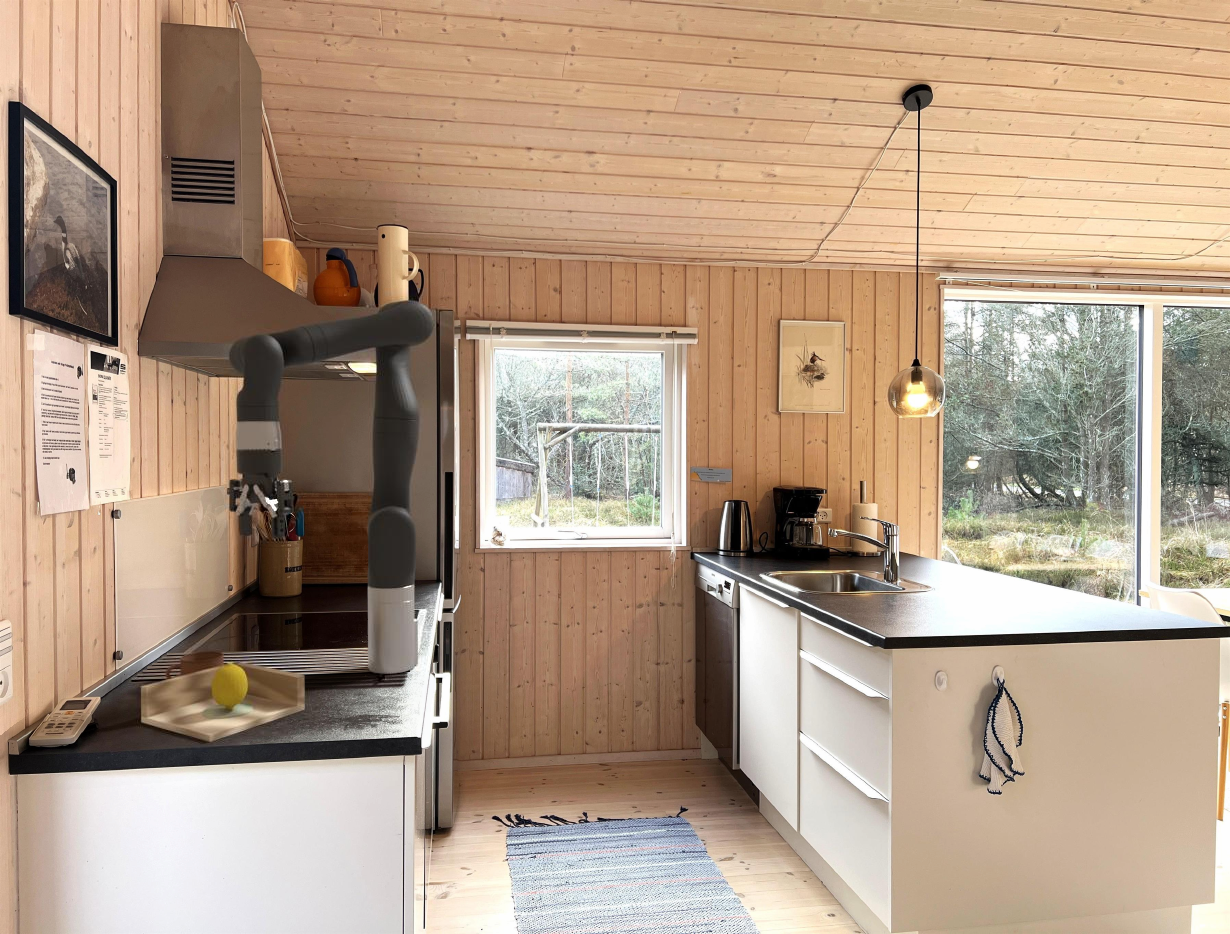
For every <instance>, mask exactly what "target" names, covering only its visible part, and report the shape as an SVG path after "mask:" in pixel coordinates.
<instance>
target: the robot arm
mask: <svg viewBox="0 0 1230 934" xmlns="http://www.w3.org/2000/svg"><path fill="white" fill-rule="evenodd" d="M434 327H435V320H434V316H433V314H432V312H431V309H429V308H428V307H427V306H426V304H424V303H421V302H420V301H417V300H411V299H410V300H409V299H408V300H401V301H394V302H389V303H386V304H384V305H383V306H382V307H381V308H380V309H379V310H378V311H377V313H374V314H369V315H366V316H359V317H352V318H347V319H346V318H344V319H336V320H329V321H322V322H321V321H320V322H317V323H310V324H305V325H300V326H295V327H292V328H289V329H286V330H283V331H279V332H272V333H266V334H265V333H264V334H263V333H257V334H252V335H248V336H245V337H242V338H241V337H240V339H238V340H236V341H235V342H234V343H233V344H232V345H231V347H230V349H229V351H228V361H229V363H230V365H231V366H232V368H233V369H234V370H235V371H236V372H238V373H240V374H242V375H243V378H242V379H243V380H242V381H243V383H242V388H241V389H240V390H239V391H238V393H237V395H236V400H235V401H236V402H235V403H236V431H235V448H236V449H235V450H236V451H235V452H236V453H235V454H236V472H237V474H238V475H241V476H242V478H235V479H234V478H233V479H232V478H231V479H229V484H228V485H229V492H228V493H229V494H228V495H229V498H228V499H229V500H228V502H229V505H228V506H229V507H228V509H229V512H231V513H232V512H233V513H235V514H236V516H238V517H237V519H238V531H239V536H240V537H250V536H252V535H253V515H252V513H253V511H254V509H255V507H256V506H258V505H263V507H264V508H265V509H267V510H268V511H269V514H270V515H271V518H270V531H271V538H272V539H274V540H275V539H276V540H277V539H283V538H285V534H286V526H285V525H286V524H285V523H286V521H285V519H286V516H287V515H289V514H293V513H294V511H295V508H294V507H295V506H294V493H293V482H292V480H291V479H279V476H278V475H279V474H280V473H282V471H283V454H282V453H283V452H282V451H283V450H282V431H281V427H280V406H279V405H280V403H279V395H280V391H281V386H282V379H283V374H284V368H288V367H294V366H303V365H309V364H314V363H319V362H322V361H326V360H331V359H334V358H338V357H341V356H346V355H348V354H354V353H357V352H360V351H364V350H368V349H369V350H370V349H374V348H375V361H376V363H375V369H376V370H375V371H376V372H375V386H374V391H375V392H374V408H373V418H372V421H373V422H372V435H371V436H372V442H371V443H372V446H371V447H372V466H373V468H372V469H373V487H372V488H373V489H372V497H371V503H370V509H369V514H368V515H369V516H368V519H367V525H366V533H367V537H368V540H367V544H368V546H367V547H368V551H367V556H368V557H367V559H368V562H367V563H368V566H367V568H368V569H367V619H368V620H367V635H368V636H367V640H368V641H367V646H368V648H367V649H368V650H367V652H368V653H367V655H368V656H367V659H368V661H367V665H368V666H367V669H369V670H368V671H369V672H372V673H375V674H376V673H377V674H397V673H398V674H399V673H403V672H407V671H410V670H413V669H414V668H415V666H417V665H418V664H419V636H418V635H419V627H418V625H419V623H418V622H419V621H418V619H417V618H415V573H416V553H417V552H416V548H417V544H416V543H417V540H416V539H417V537H416V536H417V533H416V532H417V531H416V525H415V522H414V519H413V518H412V517H411V501H410V500H411V498H410V496H411V495H410V493H411V492H410V489H411V488H410V487H411V486H410V485H411V479H412V474H413V469H414V464H415V461H416V457H417V451H418V446H419V445H418V444H419V433H420V417H421V416H420V415H421V414H420V413H421V412H420V407H419V403H418V399H417V396H416V393H415V391H414V388H413V385H412V381H411V378H410V355H411V347H415V346H419V345H420V344H424V342H426V341H427V340H429V338H430V337H431V336H432V334H433V331H434V329H435V328H434ZM237 499H238V501H237ZM285 501H286V506H285ZM236 503H238V504H236Z"/></svg>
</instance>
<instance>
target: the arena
mask: <svg viewBox="0 0 1230 934" xmlns="http://www.w3.org/2000/svg"><path fill="white" fill-rule="evenodd" d="M231 663H232V664H233V665H237V666H239V667H240V668H242V669H243V670H244V672H245V674H246V677H247V682H248V689H247V693H246V696H245V697H244V699H243V700H242V701H241V702H240V703H239V704H237V705H235V706H234V708H233V709H231V710H228V709H227V708H226V707H224V706H221V705H219V704H218V703H217V702H216V701H215V700H214V698H213V695H212V682H213V678H214V675H215V673H216V672H217V671H218V670H219V669H220V668H221V667H223V666H225V665H226V664H223V665H222V666H218V667H214V668H210V669H206V670H202V671H199V672H195V673H191V674H187V675H183V676H179V677H175V678H171V679H164V680H161V681H157V682H152V683H149V684H145V685H141V686H140V709H141V710H140V715H141V718H140V720H141V723H143V724H147V725H148V726H149V725H150V726H153V727H156V728H160V729H163V730H168V731H170V732H174V733H178V734H182V735H185V736H189V737H192V738H195V739H199V740H203V741H205V742H214V741H217V740H219V739H222V738H225V737H228V736H232V735H235V734H237V733H240V732H242V731H246V730H249V729H252V728H255V727H257V726H261V725H263V724H267V723H269V722H272V721H275V720H278V719H281V718H284V717H287V716H290V715H293V714H295V713H299V712H301V711H304V710H305V707H306V705H305V694H306V693H305V692H306V691H305V675H304V674H299V673H295V672H290V671H285V670H282V669H281V670H280V669H276V668H270V667H266V666H260V665H255V664H252V663H246V662H241V661H233V662H231Z"/></svg>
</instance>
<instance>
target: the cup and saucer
mask: <svg viewBox="0 0 1230 934" xmlns="http://www.w3.org/2000/svg"><path fill="white" fill-rule="evenodd" d="M179 662H180V663H179V664H178V663H176V664H172V665H170V666H169V667H168V668H167V669H166V671H165V677H166V680H168V679H171V678H175V677H179V676H183V675H187V674H191V673H195V672H199V671H202V670H206V669H210V668H214V667H218V666H222V665H224V653H223V652H221V651H216V650H215V651H214V650H212V651H211V650H210V651H209V650H207V651H198V652H197V651H196V652H191V653H188V654H184V655H182V656H180V658H179ZM174 669H178V670H180V674H178V675H174V676H171V671H172V670H174Z"/></svg>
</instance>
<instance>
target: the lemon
mask: <svg viewBox="0 0 1230 934" xmlns="http://www.w3.org/2000/svg"><path fill="white" fill-rule="evenodd" d="M232 663H233V662H228V663H226V664H224V665H225V666H223V667H221V668H220V669H219V670H218V671H217V672H216V673H215V675H214V678H213V682H212V695H213V698H214V700H215V701H216V702H217V703H218V704H219V705H221V706H224V707H226V708H227V709H228V710H231V709H233V708H234V706H235V705H237V704H239V703H240V702H241V701H242V700H243V699H244V697H245V696H246V693H247V689H248V682H247V677H246V674H245V672H244V670H243V669H242V668H240V667H239V666H237V665H233V664H232Z"/></svg>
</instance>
